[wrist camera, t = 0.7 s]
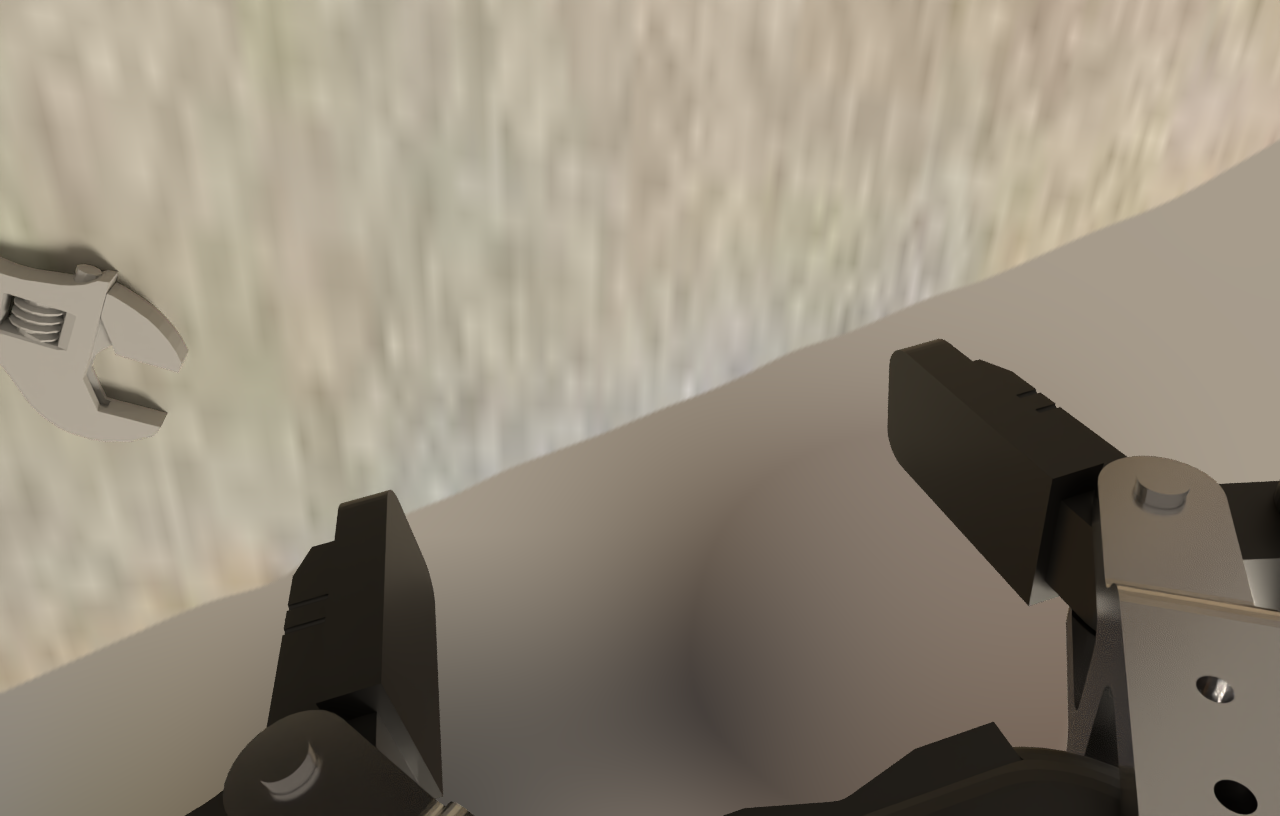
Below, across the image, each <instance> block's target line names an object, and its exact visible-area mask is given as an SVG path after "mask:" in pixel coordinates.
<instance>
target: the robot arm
mask: <svg viewBox="0 0 1280 816" xmlns="http://www.w3.org/2000/svg"><path fill="white" fill-rule="evenodd" d="M888 399H889V400H888V437H889V441H890V445H891V448H892V451H893V453H894V455H895V457H896V459H897V461H898V462H899V464H900V465H901V466H902V467H903V468H904V470H905V471H906V472H907V473H908V474H909V475H910V476H911V477H912V478H913V479H914V480H915V482H916V483H917V484H918V485H919V486H920V487H921V488H922V489H923V490H924V492H926V494H927V495H928V496H929V497H930V498H931V499H932V500H933V501H934V502H935V504H936V505H937V506H938V507H939V508H940V509H941V510H942V511H943V512H944V513H945V515H946V516H947V517H948V518H949V519H950V520H951V521H952V522H953V523H954V525H955V526H956V527H957V528H958V529H959V530H960V531H961V532H962V533H963V534H964V535H965V537H967V539H968V540H969V541H970V542H971V543H972V544H973V545H974V546H975V547H976V549H977V550H978V551H979V552H980V553H981V554H982V555H983V556H984V557H985V559H986V560H987V561H988V562H989V563H990V564H991V565H992V566H993V567H994V568H995V570H996V571H997V572H998V573H999V574H1000V575H1001V576H1002V577H1003V578H1004V579H1005V580H1006V582H1007V583H1008V584H1009V585H1010V586H1011V587H1012V588H1013V589H1014V590H1015V591H1016V593H1017V594H1018V595H1019V596H1020V597H1021V598H1022V599H1023V600H1024V601H1025V602H1026V604H1027V605H1028V606H1031V605H1034V604H1037V603H1040V602H1043V601H1046V600H1049V599H1052V598H1055V597H1058V596H1060V597H1061V598H1062V599H1063V600H1064V601H1065V602H1066V603H1067V604H1068V605H1069V608H1068V613H1067V618H1066V650H1067V651H1066V652H1067V653H1066V654H1067V698H1068V699H1067V700H1068V738H1067V749H1066V751H1060V750H1054V749H1047V748H1036V747H1012V746H1011V745H1010V743H1009V742H1008V741H1007V739H1006V738H1005V737H1004V735H1003V734H1002V733H1001V731H1000V730H999V728H998V727H997V726H996V724H995V723H994V722H991V723H989V724H986V725H983V726H980V727H977V728H974V729H971V730H969V731H966V732H963V733H960V734H957V735H954V736H951V737H948V738H945V739H942V740H940V741H937V742H934V743H931V744H928V745H925V746H922V747H920V748H917V749H914V750H913V751H912V752H910V753H909V754H907V755H906V756H905V757H903V758H902V759H900V760H899V761H898V762H896V763H895V764H893V765H892V766H891V767H889V768H888V769H886V770H885V771H884V772H882V773H881V774H880V775H878V776H877V777H875V778H874V779H873V780H871V781H870V782H868V783H867V784H866V785H864V786H863V787H861V788H860V789H859V790H857V791H856V792H854V793H853V794H852V795H850V796H848V797H847V798H845V799H842V800H840V801H834V802H824V803H810V804H796V805H783V806H769V807H755V808H744V809H741V810H738V811H735V812H733V813H730V814H727V815H724V816H1280V481H1269V482H1250V483H1229V484H1218V483H1217V482H1216V481H1215V480H1214V479H1213V478H1211V477H1210V476H1208V475H1207V474H1206V473H1204V472H1202V471H1200V470H1199V469H1197V468H1195V467H1192V466H1190V465H1188V464H1185V463H1182V462H1179V461H1176V460H1172V459H1168V458H1162V457H1156V456H1132V457H1127V456H1125V455H1124V454H1123V453H1121V452H1120V451H1118V450H1117V449H1116V448H1115V447H1113V446H1112V445H1111V444H1109V443H1108V442H1106V441H1105V440H1104V439H1102V438H1101V437H1100V436H1098V435H1097V434H1096V433H1094V432H1093V431H1092V430H1090V429H1089V428H1088V427H1086V426H1085V425H1084V424H1082V423H1081V422H1079V421H1078V420H1077V419H1075V418H1074V417H1073V416H1071V415H1070V414H1069V413H1067V412H1066V411H1065V410H1063V409H1062V408H1060V407H1059V408H1056V406H1055V403H1054V402H1052V401H1051V400H1050V399H1048V398H1047V397H1046V396H1044V395H1043V394H1041V393H1037V392H1036V389H1035V388H1033V387H1032V386H1031V385H1029V384H1028V383H1027V382H1026V381H1024V380H1023V379H1021V378H1020V377H1019V376H1017V375H1016V374H1015V373H1013V372H1012V371H1009V370H1006V369H1004V368H1001V367H999V366H996V365H993V364H990V363H988V362H985V361H982V360H976V361H971V360H970V359H969V358H968V357H966V356H965V355H964V354H963V353H961V352H960V351H959V350H957V349H956V348H955V347H953V346H952V345H951V344H950V343H948V342H947V341H945V340H943V339H937V340H933V341H929V342H926V343H922V344H919V345H916V346H912V347H908V348H904V349H901V350H897V351H895V352H894V353H893V354H892V356H891V359H890V365H889V396H888ZM288 607H289V611H287V613H286V619H285V625H284V631H285V635H283V636H282V643H281V648H280V654H279V660H278V665H277V671H276V677H275V683H274V688H273V695H272V700H271V706H270V712H269V717H268V723H267V728H266V729H264V730H263V731H262V732H260V733H259V734H258V735H257V736H256V737H255V738H254V739H252V740H251V741H250V742H249V743H248V744H247V745H246V747H245V748H244V749H243V750H242V751H241V752H240V754H239V755H238V757H237V758H236V760H235V761H234V763H233V764H232V766H231V768H230V771H229V772H228V775H227V778H226V780H225V783H224V789H223V791H222V792H220V793H219V794H218V795H217V796H215V797H214V798H212V799H211V800H209V801H208V802H206V803H205V804H203V805H202V806H200V807H199V808H197V809H195V810H193V811H192V812H190V813H189V814H187V815H185V816H474V815H473V814H471V813H470V812H469V811H468V810H466V809H465V808H464V807H462V806H460V805H459V804H457V803H454V802H450V803H449V804H448V805H447V806H444V805H442V804H441V803H439V802H438V801H437V800H436V799H437V798H440V797H443V783H442V760H441V734H440V710H439V688H438V663H437V641H436V640H437V639H436V615H435V599H434V592H433V586H432V582H431V578H430V574H429V571H428V568H427V565H426V563H425V560H424V558H423V556H422V553H421V551H420V549H419V546H418V544H417V542H416V539H415V537H414V535H413V533H412V530H411V528H410V526H409V523H408V521H407V519H406V516H405V514H404V512H403V509H402V507H401V505H400V503H399V500H398V498H397V496H396V495H395V493H394V492H393V491H392V490H388V491H384V492H381V493H377V494H374V495H370V496H366V497H363V498H359V499H356V500H352V501H348V502H345V503H341V504H340V505H339V508H338V515H337V524H336V533H335V541H332V542H328V543H325V544H321V545H318V546H314V547H312V548H311V549H310V551H309V552H308V554H307V555H306V557H305V559H304V560H303V562H302V563H301V565H300V566H299V568H298V569H297V571H296V572H295V574H294V576H293V579H292V585H291V591H290V596H289V602H288Z"/></svg>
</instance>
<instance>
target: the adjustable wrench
mask: <svg viewBox="0 0 1280 816" xmlns="http://www.w3.org/2000/svg"><path fill="white" fill-rule="evenodd" d="M75 273H76V274H68V273H61V272H54V271H48V270H41V269H35V268H31V267H28V266H24V265H20V264H17V263H14V262H12V261H10V260H7V259H5V258H3V257H1V256H0V365H1V366H2V367H3V369H4V370H5V371H6V373H7V374H8V375H9V377H10V378H11V379H12V381H13V382H14V384H15V385H16V386H17V388H18V389H19V390H20V392H21V393H22V394H23V396H24V397H25V398H26V400H27V401H28V403H29V404H30V405H31V407H32V408H34V409H35V410H36V411H37V412H38V413H39V414H40V415H41V416H42V417H44V418H45V419H46V420H48V421H49V422H51V423H52V424H54V425H55V426H57V427H58V428H60V429H62V430H65V431H67V432H69V433H72V434H75V435H78V436H81V437H84V438H87V439H91V440H98V441H105V442H133V441H137V440H141V439H145V438H148V437H152V436H154V435H155V434H156V433H157V432H158V431H159V429H160V427H161V425H162V423H163V421H164V419H165V417H166V415H167V413H166V412H162V411H159V410H155V409H151V408H147V407H143V406H139V405H135V404H132V403H128V402H124V401H120V400H116V399H112V398H109V397H107V396H106V394H105V392H104V390H103V387H102V385H101V383H100V381H99V379H98V376H97V374H96V372H95V370H94V368H93V362H94V359H95V356H96V354H98V353H99V352H100V351H102V350H104V349H106V348H108V347H110V346H111V345H112V346H113V349H114V352H115V355H118V356H121V357H125V358H128V359H132V360H135V361H138V362H142V363H145V364H149V365H152V366H156V367H159V368H163V369H166V370H170V371H173V372H177V373H179V371H180V369H181V367H182V365H183V363H184V361H185V359H186V356H187V353H188V348H187V346H186V345H185V343H184V341H183V339H182V337H181V336H180V334H179V333H178V331H177V330H176V328H175V327H174V326H173V325H172V323H171V322H170V321H169V320H168V319H167V318H166V317H165V316H164V315H163V314H162V313H161V312H160V311H159V310H158V309H157V308H156V307H155V306H153V305H152V304H150V303H149V302H148V301H146V300H145V299H144V298H142V297H141V296H139V295H138V294H136V293H135V292H133V291H131V290H130V289H128V288H126V287H125V286H123V285H121V284H119V283H117V282H116V279H117V275H118V271H112V270H105V271H102V272H101V270H100V269H98V268H96V267H94V266H92V265H87V264H80V265H77V267H76V271H75ZM12 295H13V296H16V297H15V298H14V304H15V305H13V308H12V311H11V312H12V314H11V316H10V317H9V318H8V314H9V309H10V305H11V300H12Z"/></svg>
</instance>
